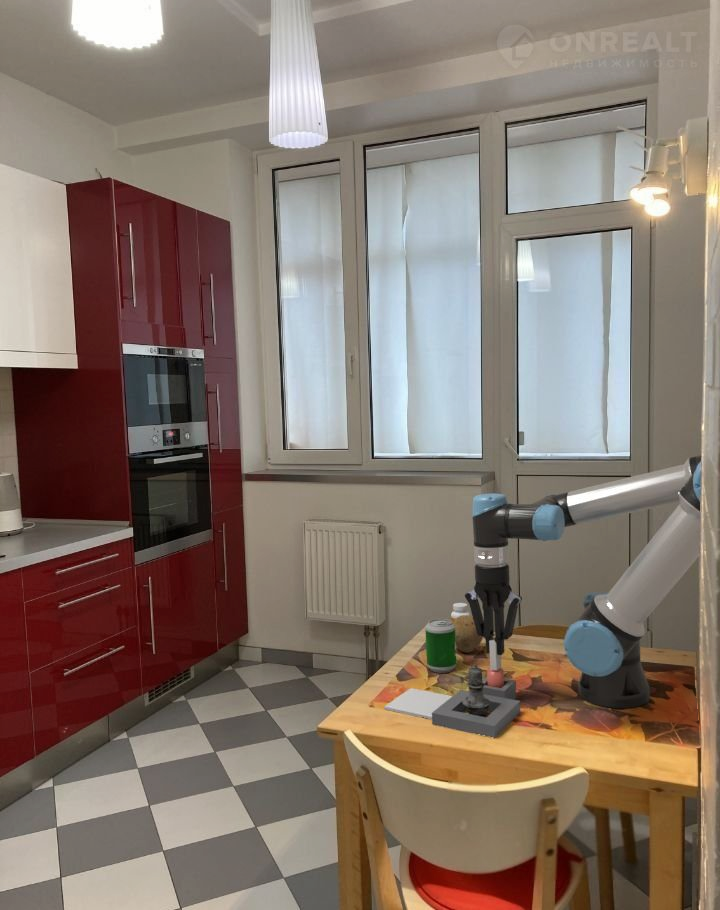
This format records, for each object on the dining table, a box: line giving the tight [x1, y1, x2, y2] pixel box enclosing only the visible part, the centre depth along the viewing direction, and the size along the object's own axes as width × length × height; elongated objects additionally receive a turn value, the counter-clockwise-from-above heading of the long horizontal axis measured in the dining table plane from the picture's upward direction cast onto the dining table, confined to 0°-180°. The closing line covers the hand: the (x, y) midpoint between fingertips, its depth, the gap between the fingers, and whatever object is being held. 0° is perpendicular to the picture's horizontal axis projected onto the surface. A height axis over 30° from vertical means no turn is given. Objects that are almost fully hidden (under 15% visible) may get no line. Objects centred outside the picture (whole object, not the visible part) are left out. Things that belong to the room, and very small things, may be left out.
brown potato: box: [453, 615, 484, 654], centre depth 200 cm, size 9×9×10 cm
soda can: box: [424, 618, 457, 674], centre depth 188 cm, size 8×8×12 cm
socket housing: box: [431, 676, 521, 739], centre depth 161 cm, size 14×21×4 cm
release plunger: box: [486, 667, 505, 688], centre depth 167 cm, size 4×4×6 cm
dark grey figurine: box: [462, 662, 490, 717], centre depth 158 cm, size 6×6×12 cm
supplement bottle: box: [450, 602, 471, 623], centre depth 211 cm, size 5×5×10 cm
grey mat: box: [383, 687, 453, 721], centre depth 167 cm, size 12×12×1 cm
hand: (495, 667), depth 166 cm, fingers closed
